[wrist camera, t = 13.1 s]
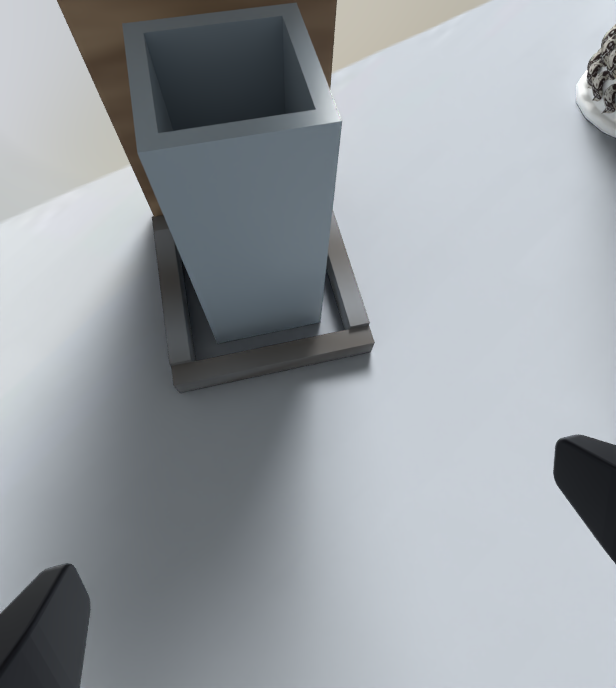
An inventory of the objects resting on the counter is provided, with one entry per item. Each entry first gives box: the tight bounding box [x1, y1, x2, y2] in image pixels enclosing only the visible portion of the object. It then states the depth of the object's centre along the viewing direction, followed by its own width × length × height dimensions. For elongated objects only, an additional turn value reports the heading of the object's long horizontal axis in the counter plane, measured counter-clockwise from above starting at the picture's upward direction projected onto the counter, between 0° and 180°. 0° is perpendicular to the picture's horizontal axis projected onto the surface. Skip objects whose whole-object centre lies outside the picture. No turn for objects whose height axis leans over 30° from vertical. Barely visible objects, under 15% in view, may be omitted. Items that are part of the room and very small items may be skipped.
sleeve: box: [122, 3, 342, 344], centre depth 19 cm, size 6×6×12 cm
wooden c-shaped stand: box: [57, 0, 375, 393], centre depth 15 cm, size 12×10×22 cm
